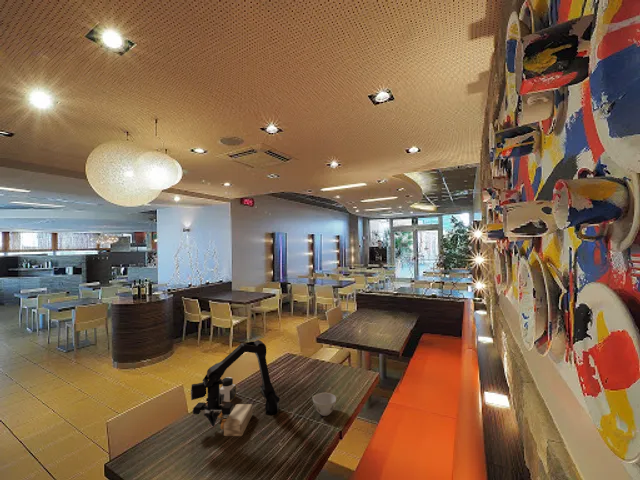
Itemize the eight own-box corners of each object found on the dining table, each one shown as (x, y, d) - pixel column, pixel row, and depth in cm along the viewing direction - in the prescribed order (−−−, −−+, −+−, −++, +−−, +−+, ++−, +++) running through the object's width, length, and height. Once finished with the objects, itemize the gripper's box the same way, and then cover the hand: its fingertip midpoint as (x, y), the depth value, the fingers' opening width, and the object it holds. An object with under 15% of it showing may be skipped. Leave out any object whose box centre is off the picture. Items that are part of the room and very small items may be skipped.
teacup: (341, 411, 153) (340, 396, 153) (326, 423, 144) (326, 407, 144) (319, 402, 163) (319, 388, 163) (305, 412, 153) (304, 397, 153)
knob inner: (239, 415, 151) (239, 406, 151) (236, 420, 146) (236, 411, 146) (221, 414, 151) (221, 406, 151) (218, 420, 147) (218, 411, 147)
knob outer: (243, 426, 141) (243, 417, 141) (240, 432, 137) (240, 422, 137) (224, 425, 142) (223, 417, 142) (220, 431, 138) (220, 422, 138)
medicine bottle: (230, 402, 164) (229, 381, 165) (219, 401, 166) (218, 380, 166) (236, 396, 171) (235, 376, 172) (225, 395, 173) (225, 375, 173)
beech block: (252, 414, 152) (252, 404, 152) (241, 436, 135) (241, 424, 135) (236, 414, 153) (236, 404, 153) (223, 435, 136) (223, 424, 136)
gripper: (237, 386, 148) (237, 416, 147) (202, 385, 149) (203, 415, 148) (229, 397, 137) (229, 430, 136) (192, 396, 138) (192, 429, 137)
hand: (213, 425), depth 140 cm, fingers closed
